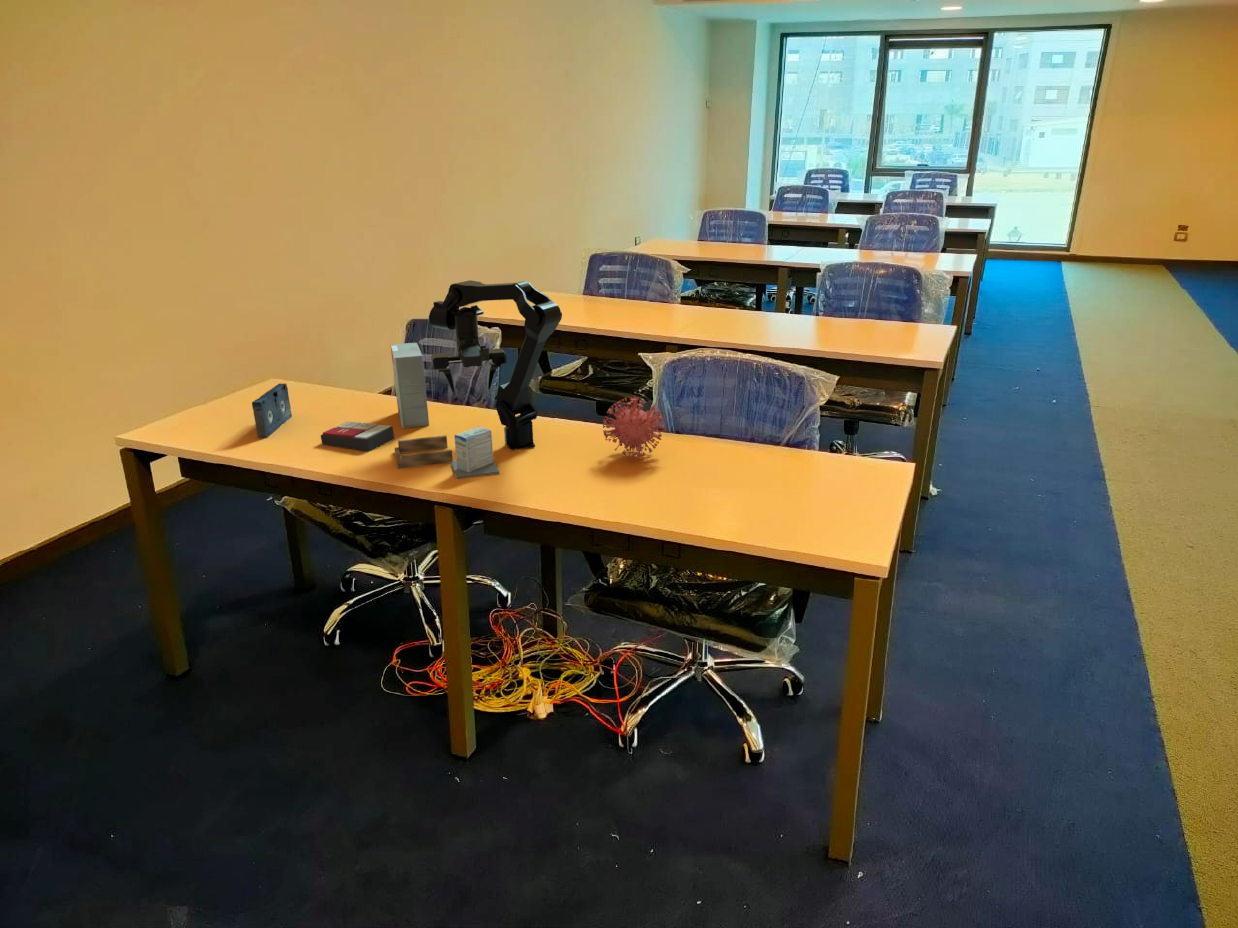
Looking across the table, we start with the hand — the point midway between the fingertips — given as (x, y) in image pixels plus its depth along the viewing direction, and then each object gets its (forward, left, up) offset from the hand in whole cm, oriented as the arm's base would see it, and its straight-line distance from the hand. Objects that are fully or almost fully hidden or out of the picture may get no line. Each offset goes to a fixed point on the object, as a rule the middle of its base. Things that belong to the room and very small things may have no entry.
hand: (471, 391), depth 224 cm
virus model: (-35, +29, -12) cm, 47 cm away
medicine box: (+3, +25, -12) cm, 28 cm away
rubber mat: (+4, +25, -12) cm, 28 cm away
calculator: (+30, -4, -13) cm, 32 cm away
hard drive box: (+14, -19, -12) cm, 27 cm away
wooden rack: (+14, +13, -12) cm, 23 cm away
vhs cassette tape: (+51, -24, -12) cm, 58 cm away
